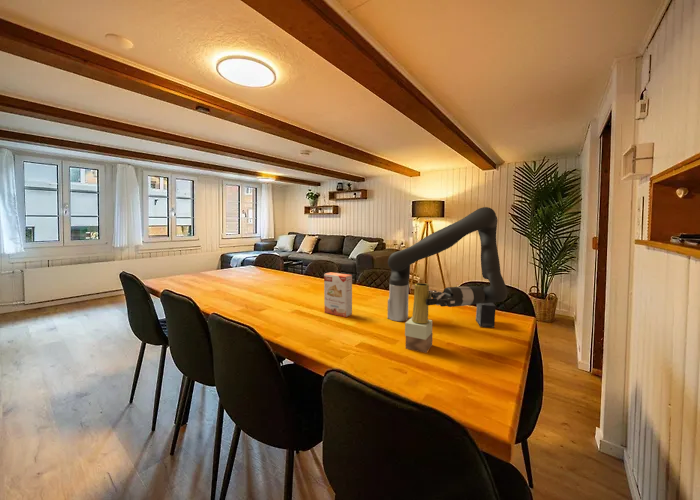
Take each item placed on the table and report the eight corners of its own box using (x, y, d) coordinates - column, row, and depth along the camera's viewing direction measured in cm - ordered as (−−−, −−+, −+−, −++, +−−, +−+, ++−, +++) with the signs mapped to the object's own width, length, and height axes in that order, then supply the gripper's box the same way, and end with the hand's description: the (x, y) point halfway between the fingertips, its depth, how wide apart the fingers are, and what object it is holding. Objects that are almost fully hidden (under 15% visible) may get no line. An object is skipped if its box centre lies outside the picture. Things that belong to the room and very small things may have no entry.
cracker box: (323, 313, 160) (323, 273, 158) (331, 310, 165) (330, 271, 163) (345, 317, 152) (345, 276, 150) (352, 314, 157) (352, 274, 155)
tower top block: (405, 335, 115) (405, 322, 115) (412, 329, 122) (412, 317, 121) (426, 339, 111) (426, 326, 111) (432, 332, 118) (432, 320, 117)
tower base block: (405, 348, 115) (405, 336, 115) (412, 341, 122) (412, 329, 122) (426, 353, 111) (426, 340, 111) (432, 345, 118) (432, 332, 118)
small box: (495, 328, 136) (496, 305, 135) (480, 327, 138) (480, 304, 137) (489, 320, 147) (490, 299, 146) (475, 320, 148) (476, 298, 147)
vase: (409, 318, 119) (411, 282, 118) (425, 318, 119) (427, 282, 118) (414, 323, 113) (416, 285, 111) (430, 323, 113) (432, 285, 112)
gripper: (447, 283, 126) (412, 285, 121) (470, 290, 112) (430, 293, 108) (447, 301, 126) (411, 304, 122) (469, 310, 113) (430, 314, 108)
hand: (420, 299), depth 115 cm, fingers open, 8 cm apart
